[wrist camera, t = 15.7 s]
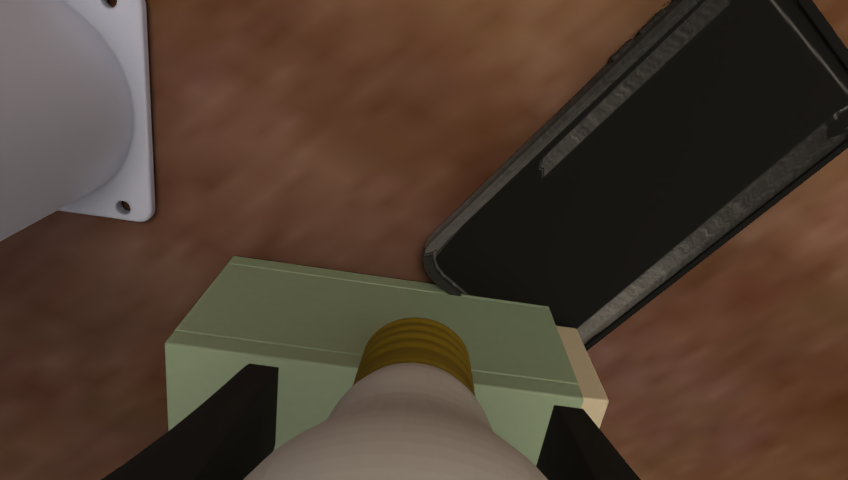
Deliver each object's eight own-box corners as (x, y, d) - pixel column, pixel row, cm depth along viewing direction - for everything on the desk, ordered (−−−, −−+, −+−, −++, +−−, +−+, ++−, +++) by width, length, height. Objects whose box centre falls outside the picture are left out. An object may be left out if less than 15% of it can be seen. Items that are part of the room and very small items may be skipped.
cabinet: (546, 299, 22) (585, 399, 16) (488, 510, 26) (503, 644, 21) (233, 255, 21) (163, 342, 16) (230, 479, 26) (175, 608, 20)
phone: (893, 112, 18) (549, 380, 22) (868, 106, 19) (544, 364, 23) (756, -77, 16) (408, 260, 20) (737, -71, 17) (409, 248, 21)
